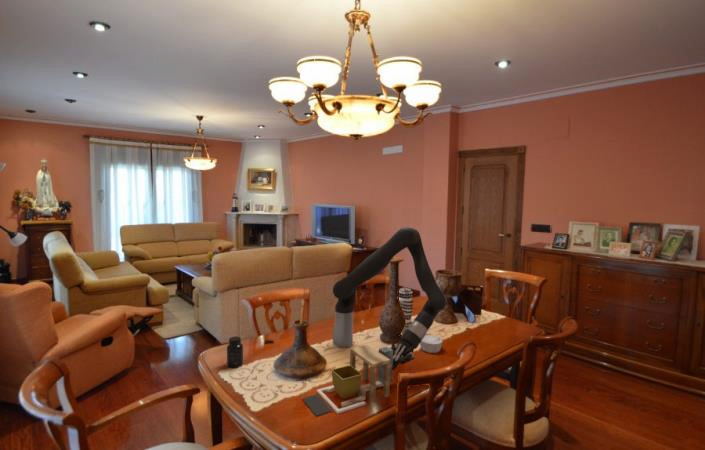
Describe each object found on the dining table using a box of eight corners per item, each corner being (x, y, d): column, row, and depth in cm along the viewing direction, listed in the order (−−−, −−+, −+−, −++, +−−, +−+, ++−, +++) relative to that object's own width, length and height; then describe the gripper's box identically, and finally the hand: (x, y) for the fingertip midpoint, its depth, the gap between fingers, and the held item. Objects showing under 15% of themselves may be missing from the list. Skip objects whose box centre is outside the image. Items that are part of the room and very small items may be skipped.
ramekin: (442, 355, 179) (442, 344, 178) (418, 352, 181) (419, 342, 181) (441, 346, 190) (442, 336, 189) (419, 343, 192) (419, 333, 192)
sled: (380, 376, 156) (381, 343, 154) (397, 389, 146) (399, 353, 145) (327, 391, 143) (327, 355, 141) (342, 406, 133) (343, 368, 132)
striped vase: (414, 332, 207) (416, 288, 205) (408, 337, 199) (410, 291, 197) (399, 329, 212) (400, 285, 210) (392, 334, 204) (394, 289, 202)
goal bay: (342, 384, 149) (342, 382, 149) (365, 404, 135) (365, 402, 135) (316, 391, 143) (316, 389, 143) (337, 413, 129) (337, 411, 129)
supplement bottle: (226, 362, 166) (226, 336, 164) (242, 360, 168) (242, 334, 167) (227, 369, 159) (227, 342, 158) (243, 367, 162) (243, 340, 160)
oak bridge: (366, 378, 155) (367, 344, 153) (389, 396, 141) (390, 359, 140) (349, 382, 150) (350, 348, 149) (371, 402, 137) (372, 364, 136)
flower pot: (350, 386, 148) (350, 364, 147) (362, 396, 140) (362, 373, 140) (330, 392, 143) (330, 369, 142) (341, 403, 136) (342, 379, 135)
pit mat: (316, 395, 141) (316, 394, 141) (331, 411, 130) (331, 410, 130) (302, 399, 138) (302, 398, 138) (316, 416, 127) (316, 415, 127)
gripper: (399, 324, 160) (375, 357, 155) (420, 334, 149) (395, 371, 143) (408, 334, 163) (385, 367, 158) (430, 344, 152) (405, 381, 147)
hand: (390, 369), depth 151 cm, fingers closed
